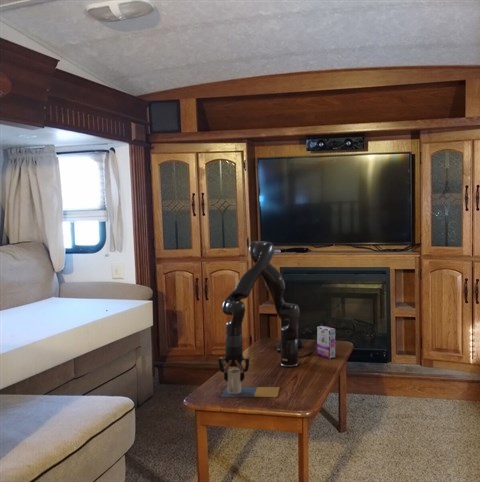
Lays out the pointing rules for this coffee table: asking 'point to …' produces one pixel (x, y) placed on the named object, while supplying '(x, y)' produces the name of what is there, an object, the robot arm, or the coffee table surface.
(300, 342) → the miniature car
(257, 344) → the coffee table surface
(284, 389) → the coffee table surface
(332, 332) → the candy bar box
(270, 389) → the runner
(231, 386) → the mug
